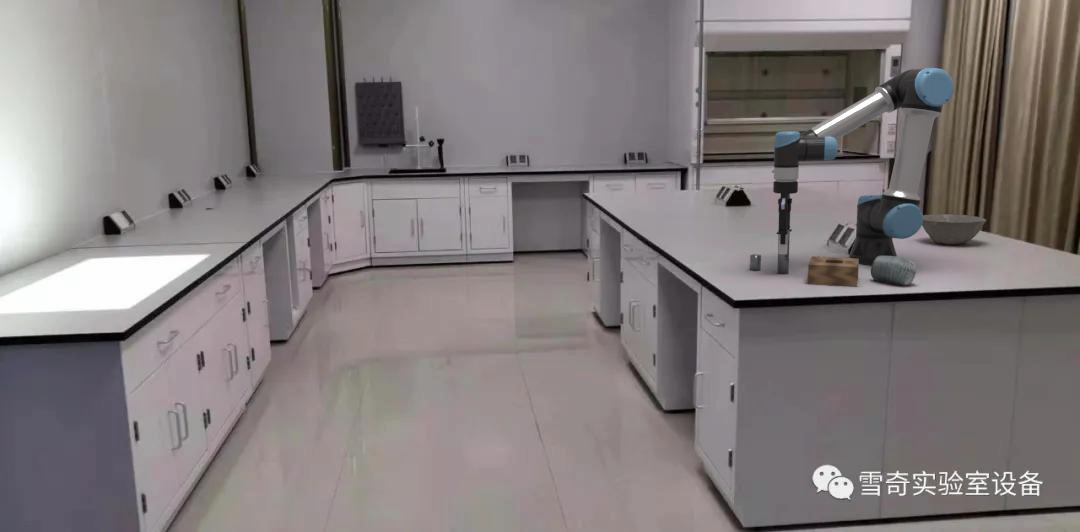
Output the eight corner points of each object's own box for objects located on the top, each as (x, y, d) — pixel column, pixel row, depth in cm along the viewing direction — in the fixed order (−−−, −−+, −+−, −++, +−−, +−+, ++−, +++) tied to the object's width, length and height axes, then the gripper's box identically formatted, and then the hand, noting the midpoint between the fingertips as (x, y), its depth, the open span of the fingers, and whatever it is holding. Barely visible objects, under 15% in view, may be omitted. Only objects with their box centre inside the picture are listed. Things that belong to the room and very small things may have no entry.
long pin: (788, 271, 266) (790, 229, 264) (787, 274, 263) (789, 231, 260) (777, 271, 268) (779, 229, 265) (776, 273, 264) (777, 230, 262)
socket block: (857, 277, 257) (858, 258, 255) (856, 286, 244) (857, 267, 243) (811, 274, 262) (812, 256, 261) (807, 283, 249) (808, 264, 248)
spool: (858, 270, 252) (877, 242, 250) (876, 280, 257) (894, 253, 255) (891, 288, 240) (911, 260, 238) (909, 299, 245) (928, 271, 243)
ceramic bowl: (995, 248, 301) (998, 221, 299) (932, 249, 301) (934, 222, 299) (965, 238, 323) (967, 213, 321) (907, 239, 323) (908, 214, 321)
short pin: (761, 269, 272) (761, 254, 271) (759, 271, 269) (760, 256, 268) (750, 268, 274) (751, 254, 273) (749, 270, 270) (749, 255, 270)
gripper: (776, 178, 268) (774, 248, 273) (770, 182, 253) (768, 256, 258) (800, 178, 266) (797, 249, 270) (795, 183, 251) (793, 258, 255)
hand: (783, 252), depth 264 cm, fingers closed on long pin, 3 cm apart
